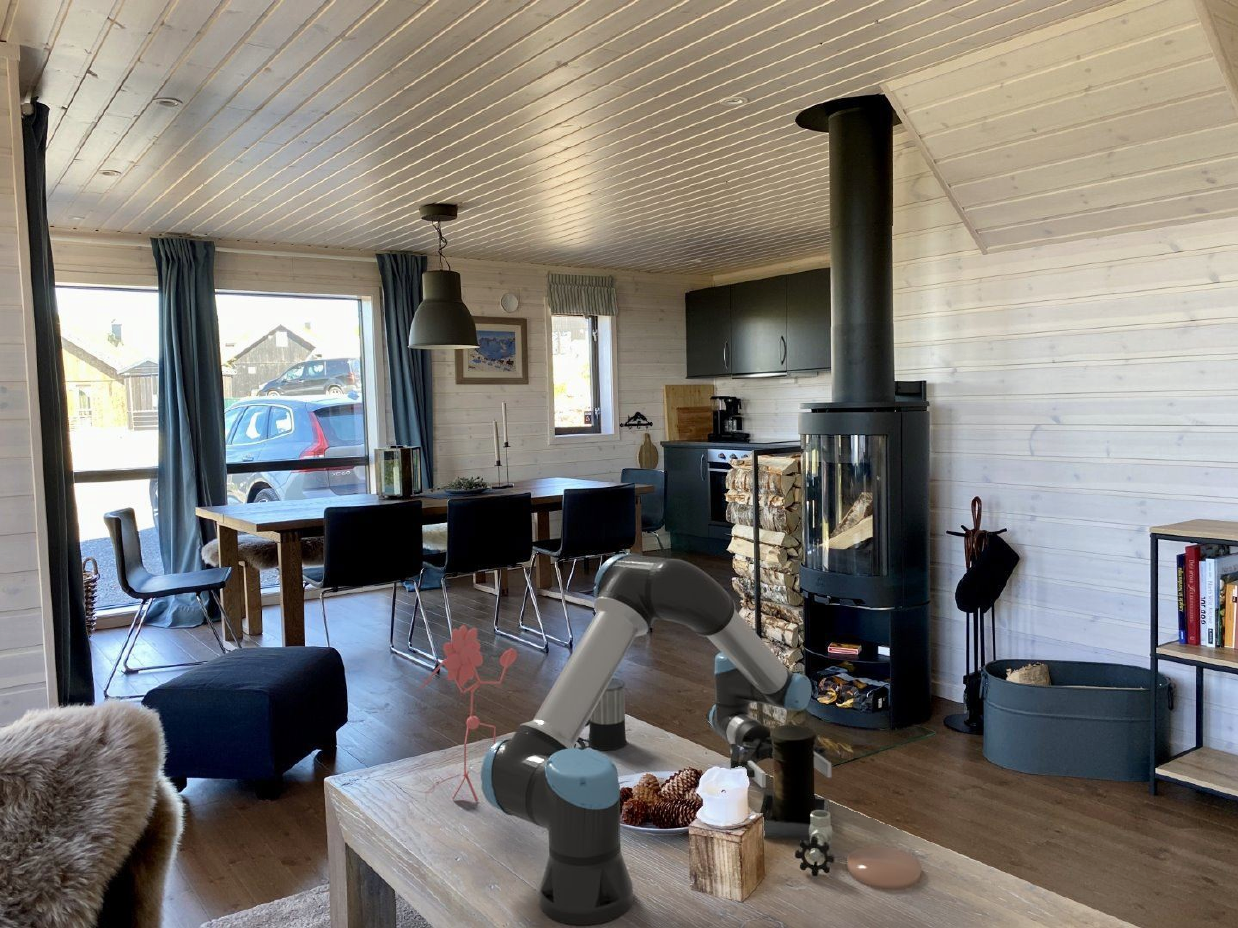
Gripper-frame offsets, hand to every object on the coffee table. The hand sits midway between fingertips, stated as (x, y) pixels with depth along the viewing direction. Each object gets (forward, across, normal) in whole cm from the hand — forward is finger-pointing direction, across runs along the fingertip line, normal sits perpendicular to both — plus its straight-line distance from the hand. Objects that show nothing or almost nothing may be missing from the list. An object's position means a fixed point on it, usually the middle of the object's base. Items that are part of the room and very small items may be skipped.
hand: (797, 775), depth 176 cm
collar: (-1, 0, -10) cm, 10 cm away
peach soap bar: (+20, -6, -10) cm, 23 cm away
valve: (+13, +2, -10) cm, 17 cm away
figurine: (-40, +57, -10) cm, 71 cm away
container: (-1, 0, -10) cm, 10 cm away
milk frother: (-54, +26, -10) cm, 61 cm away
